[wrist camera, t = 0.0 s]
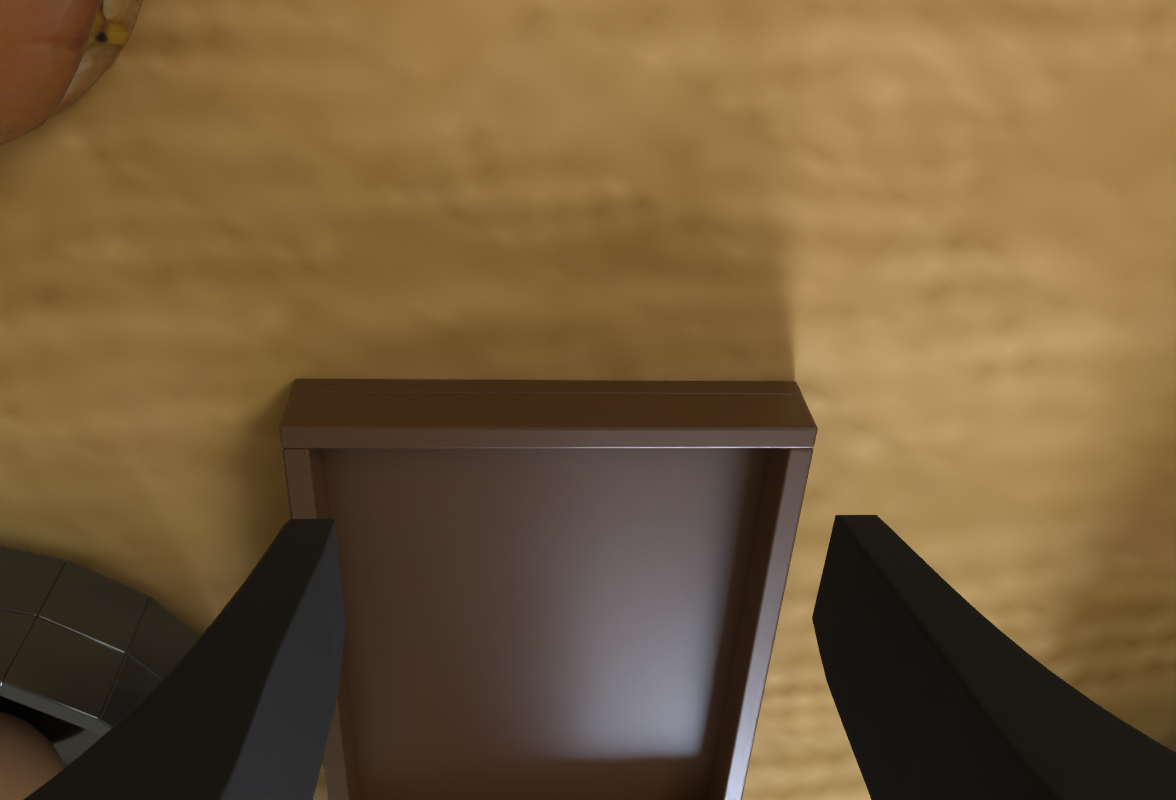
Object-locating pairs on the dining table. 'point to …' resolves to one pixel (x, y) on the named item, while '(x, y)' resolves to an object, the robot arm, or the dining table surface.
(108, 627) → the dark grey mixing bowl
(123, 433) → the dining table surface
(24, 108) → the burger
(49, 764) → the egg
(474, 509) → the tray
